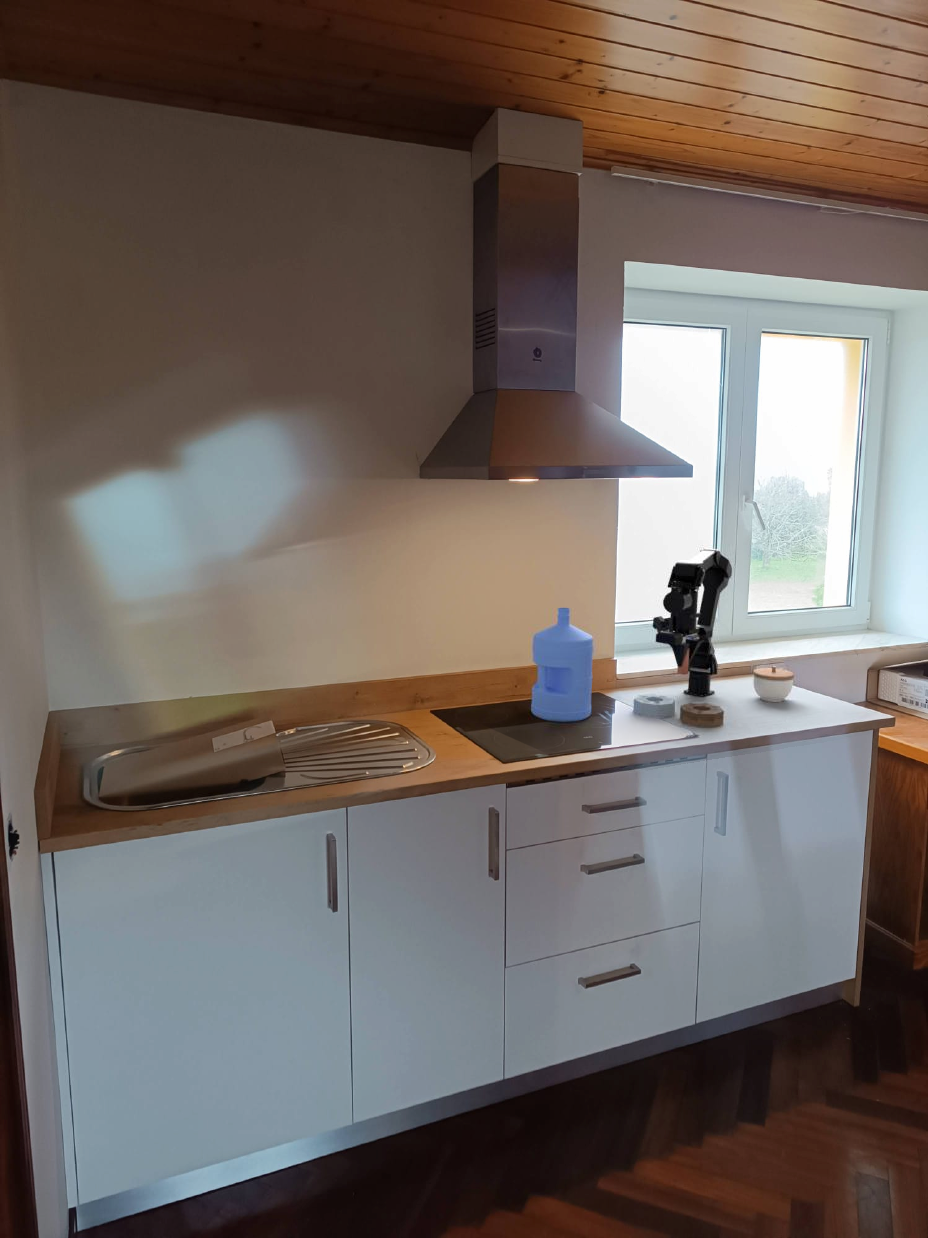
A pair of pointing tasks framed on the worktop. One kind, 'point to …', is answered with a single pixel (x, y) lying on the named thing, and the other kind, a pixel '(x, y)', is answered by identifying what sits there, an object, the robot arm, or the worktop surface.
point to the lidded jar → (772, 683)
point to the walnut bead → (701, 715)
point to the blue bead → (654, 705)
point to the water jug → (562, 671)
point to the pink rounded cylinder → (684, 665)
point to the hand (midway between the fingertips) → (682, 665)
